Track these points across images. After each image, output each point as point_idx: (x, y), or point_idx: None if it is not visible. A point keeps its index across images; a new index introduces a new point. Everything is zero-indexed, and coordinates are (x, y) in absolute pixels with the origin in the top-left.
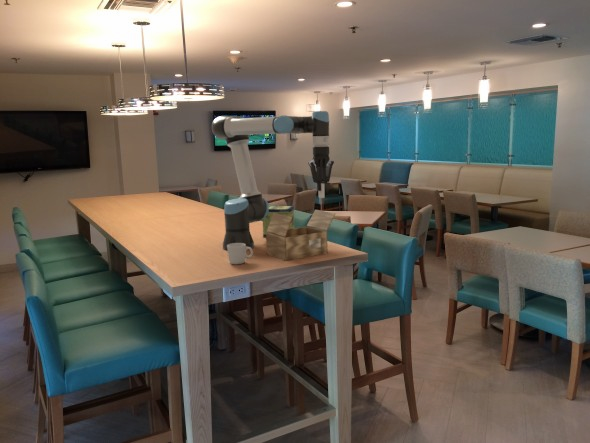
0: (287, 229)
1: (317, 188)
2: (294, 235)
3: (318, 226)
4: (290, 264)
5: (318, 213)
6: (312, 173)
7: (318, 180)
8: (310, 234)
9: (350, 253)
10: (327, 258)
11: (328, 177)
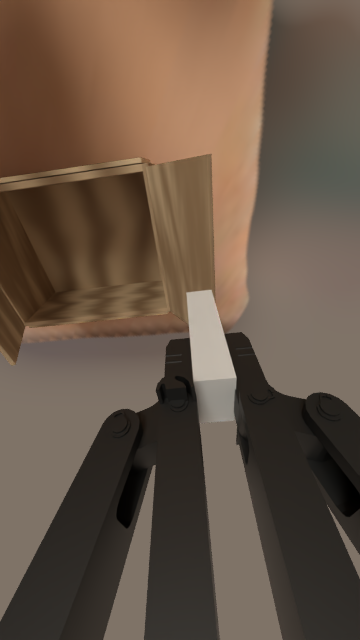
0: (20, 338)
1: (166, 358)
2: (87, 179)
3: (165, 263)
4: None
5: (195, 221)
6: (18, 633)
7: (185, 435)
8: (111, 317)
9: (219, 306)
10: (152, 318)
11: (335, 498)
